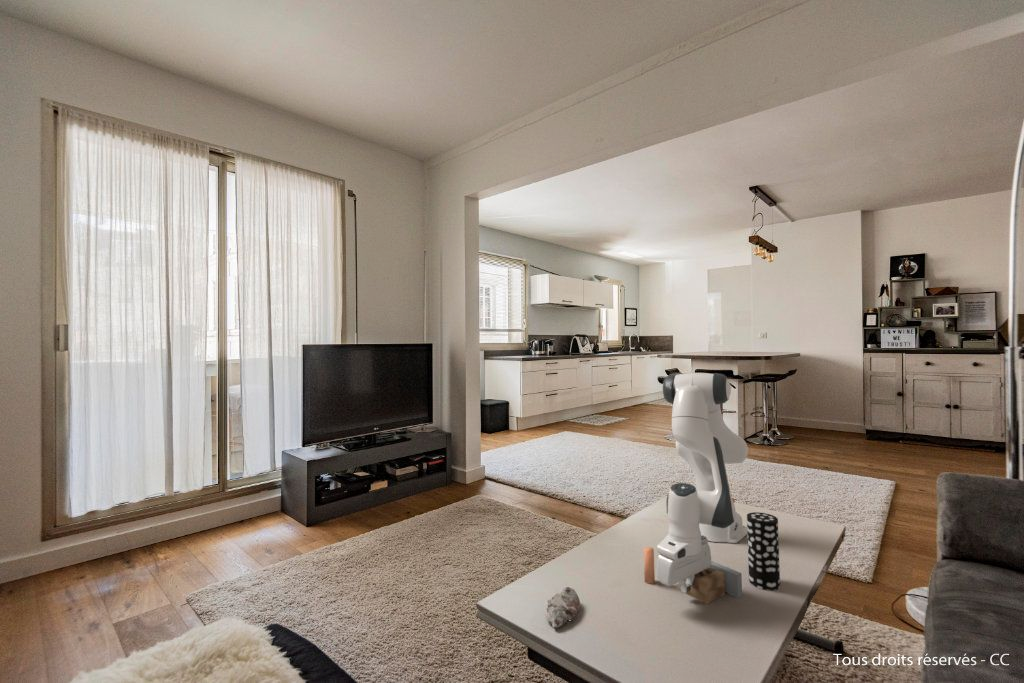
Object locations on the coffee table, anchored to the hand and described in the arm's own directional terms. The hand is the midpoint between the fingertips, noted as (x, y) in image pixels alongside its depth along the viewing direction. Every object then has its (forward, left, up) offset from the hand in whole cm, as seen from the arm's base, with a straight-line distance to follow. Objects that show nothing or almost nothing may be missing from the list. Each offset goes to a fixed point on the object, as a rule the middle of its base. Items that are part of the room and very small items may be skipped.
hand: (686, 590), depth 132 cm
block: (-7, 0, -2) cm, 7 cm away
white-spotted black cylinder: (-26, +8, -3) cm, 28 cm away
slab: (-13, 0, -2) cm, 14 cm away
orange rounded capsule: (+1, -13, -2) cm, 13 cm away
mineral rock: (+34, -15, -3) cm, 37 cm away
